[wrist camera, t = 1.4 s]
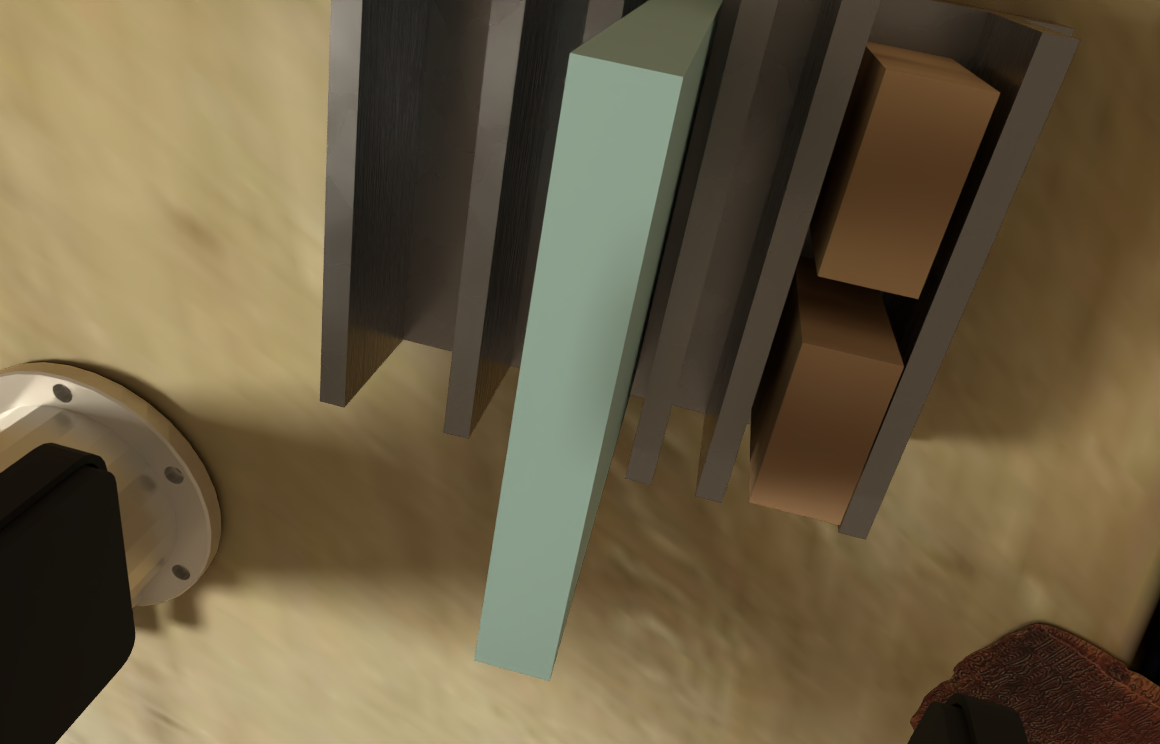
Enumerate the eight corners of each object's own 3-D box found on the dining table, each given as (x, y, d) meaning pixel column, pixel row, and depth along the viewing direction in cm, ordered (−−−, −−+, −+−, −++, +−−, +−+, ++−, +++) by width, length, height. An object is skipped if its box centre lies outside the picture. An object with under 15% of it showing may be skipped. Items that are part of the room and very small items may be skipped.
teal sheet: (636, 370, 30) (549, 681, 18) (591, 359, 30) (474, 660, 18) (723, -1, 24) (683, 77, 12) (667, -12, 24) (569, 52, 12)
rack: (887, 436, 31) (915, 551, 25) (356, 307, 32) (271, 389, 27) (1057, 23, 24) (1149, 54, 18) (378, -113, 26) (268, -124, 20)
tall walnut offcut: (824, 408, 29) (839, 525, 23) (751, 390, 29) (749, 502, 24) (873, 272, 27) (904, 366, 21) (794, 254, 27) (802, 342, 21)
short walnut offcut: (889, 230, 26) (918, 299, 21) (807, 211, 26) (817, 275, 21) (951, 58, 24) (1000, 93, 19) (860, 40, 24) (886, 69, 19)
